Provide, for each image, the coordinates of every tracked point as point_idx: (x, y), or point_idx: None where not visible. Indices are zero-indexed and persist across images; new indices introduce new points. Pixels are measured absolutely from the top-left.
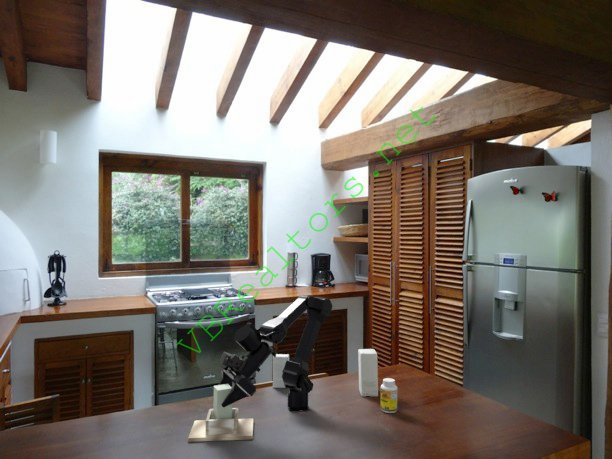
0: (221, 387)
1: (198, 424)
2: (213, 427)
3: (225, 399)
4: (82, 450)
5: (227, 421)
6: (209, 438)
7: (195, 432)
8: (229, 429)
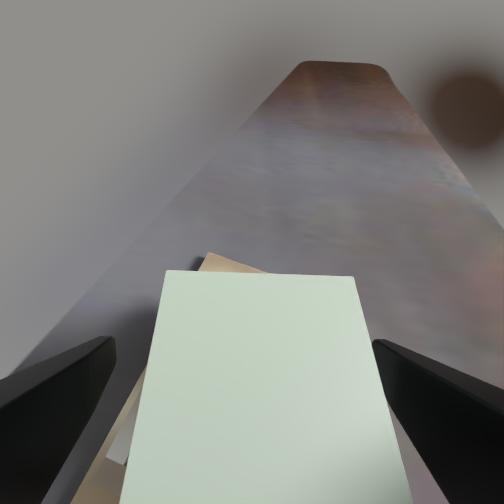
0: (254, 352)
1: None
2: None
3: (46, 362)
4: (272, 106)
5: (135, 405)
6: None
7: None
8: None
